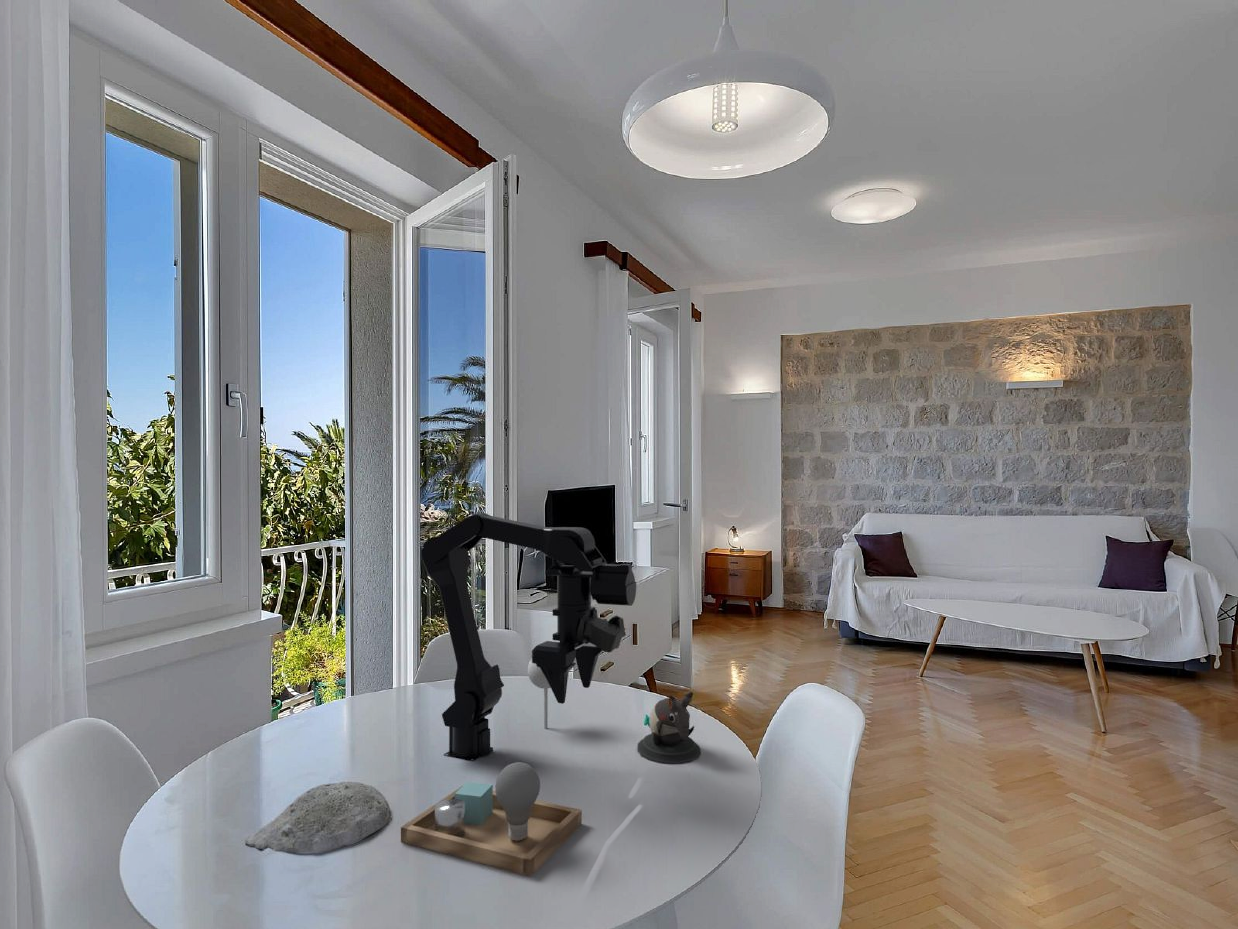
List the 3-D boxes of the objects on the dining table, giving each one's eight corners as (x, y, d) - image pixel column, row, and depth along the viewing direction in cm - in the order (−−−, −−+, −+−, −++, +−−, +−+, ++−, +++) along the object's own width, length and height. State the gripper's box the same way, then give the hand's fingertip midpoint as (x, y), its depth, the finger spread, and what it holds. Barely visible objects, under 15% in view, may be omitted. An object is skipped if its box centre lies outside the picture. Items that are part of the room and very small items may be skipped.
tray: (400, 846, 93) (400, 827, 93) (464, 801, 106) (464, 784, 106) (529, 881, 85) (529, 860, 85) (581, 828, 98) (581, 810, 98)
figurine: (679, 734, 133) (679, 673, 133) (713, 759, 123) (714, 693, 122) (626, 744, 128) (627, 681, 128) (657, 771, 118) (658, 702, 118)
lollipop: (571, 726, 138) (571, 650, 138) (548, 737, 132) (549, 658, 132) (543, 719, 142) (543, 645, 142) (520, 730, 136) (520, 653, 136)
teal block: (454, 822, 98) (454, 793, 98) (467, 809, 102) (467, 781, 102) (480, 825, 97) (480, 796, 97) (492, 812, 101) (492, 784, 101)
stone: (346, 769, 110) (412, 765, 103) (352, 821, 109) (419, 820, 101) (236, 809, 95) (303, 807, 88) (241, 869, 94) (310, 872, 86)
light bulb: (532, 852, 90) (531, 775, 90) (488, 848, 91) (488, 771, 92) (546, 829, 96) (545, 756, 96) (505, 825, 97) (504, 753, 97)
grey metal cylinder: (428, 839, 94) (428, 809, 94) (447, 825, 97) (447, 796, 97) (452, 845, 92) (452, 815, 92) (470, 831, 96) (471, 802, 96)
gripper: (593, 616, 106) (593, 719, 106) (638, 597, 123) (639, 685, 123) (530, 610, 111) (529, 709, 110) (582, 592, 128) (582, 678, 127)
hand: (574, 695), depth 118 cm, fingers open, 9 cm apart
